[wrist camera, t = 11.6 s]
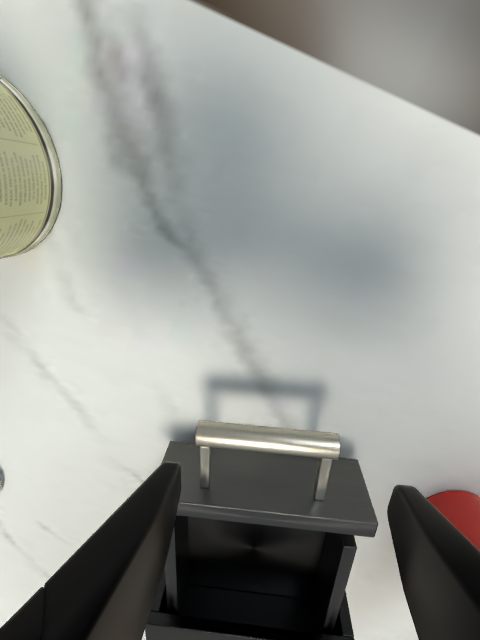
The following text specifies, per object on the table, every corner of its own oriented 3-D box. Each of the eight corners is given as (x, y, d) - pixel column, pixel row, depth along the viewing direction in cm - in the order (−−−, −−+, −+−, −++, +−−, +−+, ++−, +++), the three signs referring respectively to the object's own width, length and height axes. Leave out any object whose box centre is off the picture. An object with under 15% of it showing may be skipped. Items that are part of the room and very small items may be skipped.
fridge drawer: (167, 385, 22) (142, 436, 18) (371, 403, 21) (398, 461, 17) (175, 574, 30) (159, 642, 25) (325, 592, 29) (335, 666, 25)
